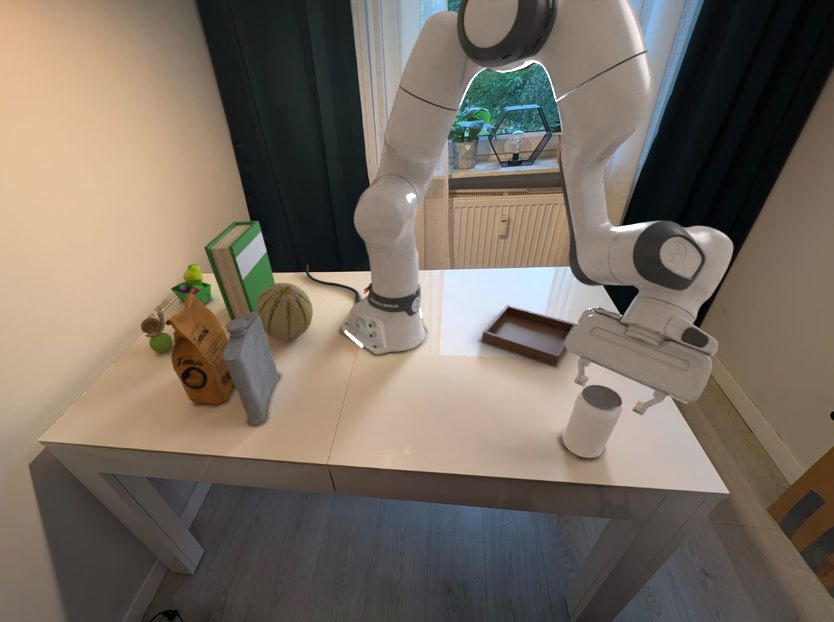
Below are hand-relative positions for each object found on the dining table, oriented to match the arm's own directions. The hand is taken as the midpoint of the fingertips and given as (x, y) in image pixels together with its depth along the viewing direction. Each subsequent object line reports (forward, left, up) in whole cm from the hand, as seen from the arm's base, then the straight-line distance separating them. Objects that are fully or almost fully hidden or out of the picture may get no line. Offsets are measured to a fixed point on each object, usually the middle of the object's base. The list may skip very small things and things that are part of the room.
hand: (606, 398), depth 63 cm
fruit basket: (-114, -11, -10) cm, 115 cm away
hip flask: (-60, -28, -10) cm, 67 cm away
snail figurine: (-97, -31, -10) cm, 102 cm away
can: (-1, -3, -10) cm, 10 cm away
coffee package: (-72, -32, -10) cm, 79 cm away
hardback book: (-91, -5, -10) cm, 91 cm away
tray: (-20, +23, -9) cm, 32 cm away
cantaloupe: (-73, -8, -10) cm, 74 cm away
